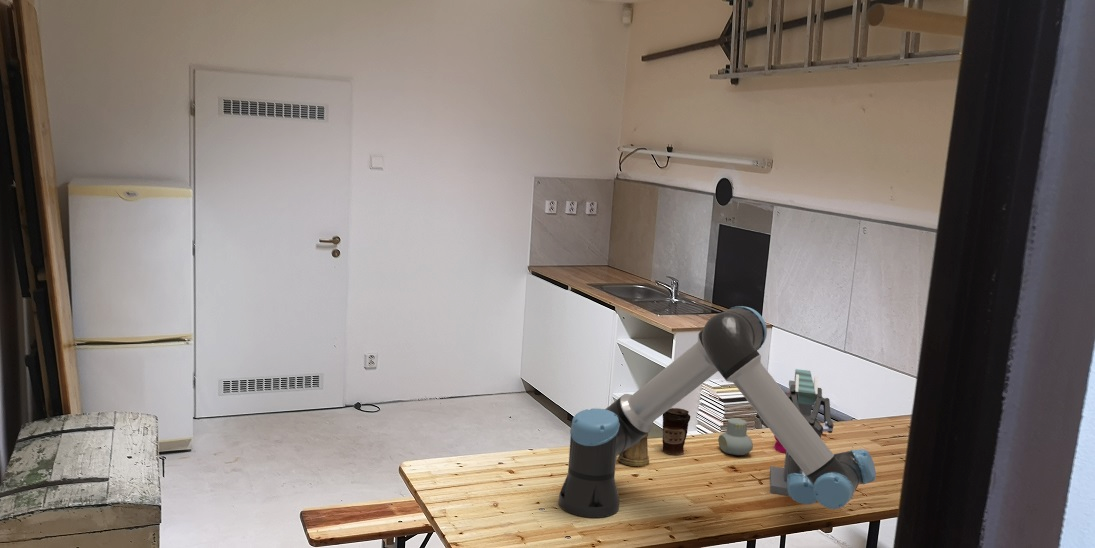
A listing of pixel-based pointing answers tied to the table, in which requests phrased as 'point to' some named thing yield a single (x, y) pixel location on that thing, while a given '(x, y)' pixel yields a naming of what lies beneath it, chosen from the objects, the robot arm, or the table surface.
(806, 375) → the block
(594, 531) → the table surface
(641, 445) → the wooden mug
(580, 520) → the table surface
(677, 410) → the coffee cup
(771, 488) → the stand
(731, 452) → the air freshener
